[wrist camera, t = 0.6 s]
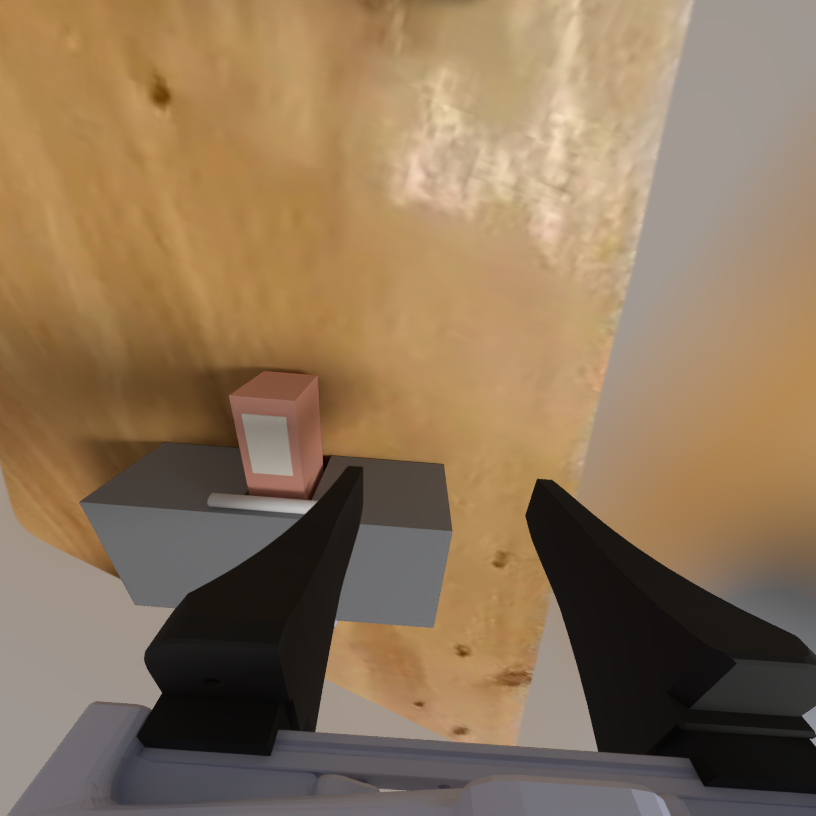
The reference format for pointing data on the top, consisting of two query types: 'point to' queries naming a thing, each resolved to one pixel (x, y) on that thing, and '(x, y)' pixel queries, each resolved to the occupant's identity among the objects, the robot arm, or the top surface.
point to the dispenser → (272, 529)
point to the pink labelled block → (279, 434)
